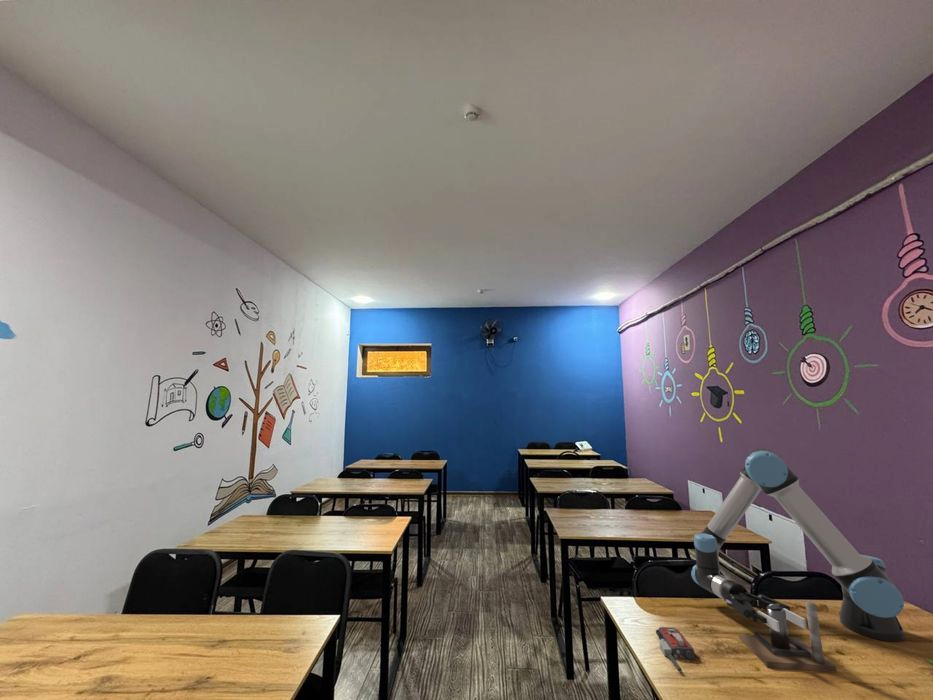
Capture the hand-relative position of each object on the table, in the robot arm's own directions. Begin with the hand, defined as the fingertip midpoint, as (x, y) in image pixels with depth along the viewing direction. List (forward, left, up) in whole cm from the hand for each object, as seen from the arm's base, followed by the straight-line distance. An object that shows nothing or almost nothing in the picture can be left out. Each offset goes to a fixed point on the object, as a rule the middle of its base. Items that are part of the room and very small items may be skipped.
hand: (791, 625), depth 114 cm
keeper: (+1, -3, -10) cm, 10 cm away
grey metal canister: (+1, -5, -8) cm, 9 cm away
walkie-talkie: (+33, 0, -10) cm, 35 cm away
